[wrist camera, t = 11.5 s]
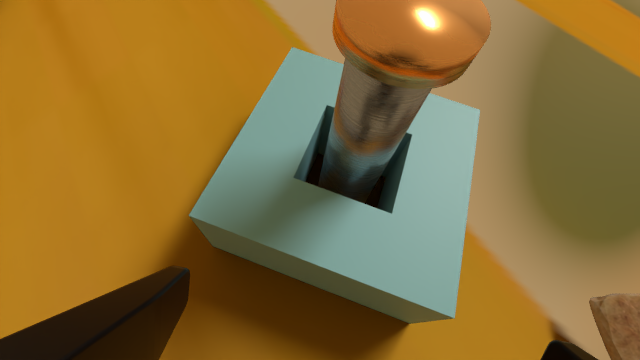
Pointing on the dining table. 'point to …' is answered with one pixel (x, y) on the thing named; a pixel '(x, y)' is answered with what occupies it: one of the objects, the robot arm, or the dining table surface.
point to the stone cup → (618, 324)
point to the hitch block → (346, 199)
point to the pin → (391, 78)
